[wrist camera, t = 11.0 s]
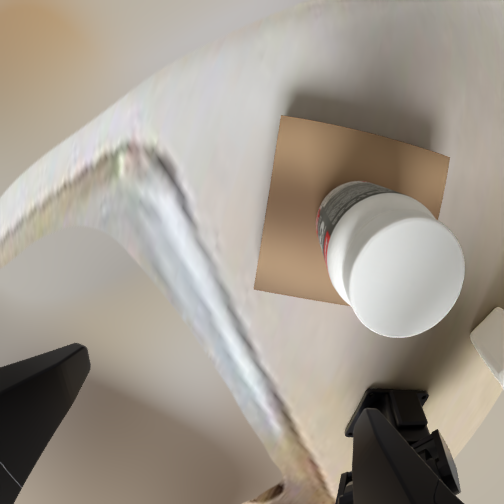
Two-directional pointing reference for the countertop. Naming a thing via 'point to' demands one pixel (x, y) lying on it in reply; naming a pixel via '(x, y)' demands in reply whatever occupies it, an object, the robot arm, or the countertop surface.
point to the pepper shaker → (491, 342)
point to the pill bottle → (389, 258)
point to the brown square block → (320, 185)
